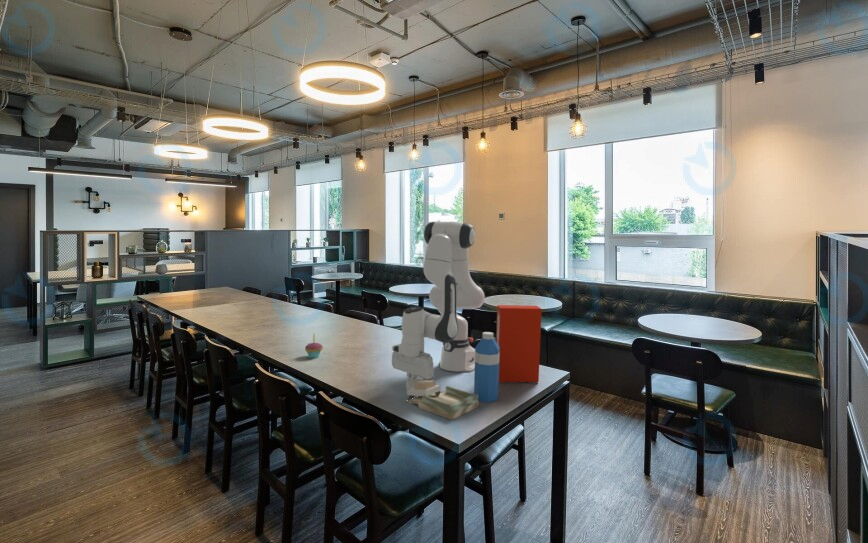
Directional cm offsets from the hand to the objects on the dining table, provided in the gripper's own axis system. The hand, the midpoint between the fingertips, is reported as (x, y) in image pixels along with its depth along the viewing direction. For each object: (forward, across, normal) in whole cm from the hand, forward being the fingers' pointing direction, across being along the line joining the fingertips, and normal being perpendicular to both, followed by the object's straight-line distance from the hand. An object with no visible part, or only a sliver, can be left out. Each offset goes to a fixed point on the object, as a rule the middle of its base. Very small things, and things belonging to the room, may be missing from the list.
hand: (412, 384), depth 160 cm
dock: (+5, -14, -1) cm, 15 cm away
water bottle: (+4, -22, -18) cm, 29 cm away
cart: (+3, -7, 0) cm, 8 cm away
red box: (+4, -20, -44) cm, 48 cm away
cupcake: (+4, +70, +1) cm, 70 cm away
